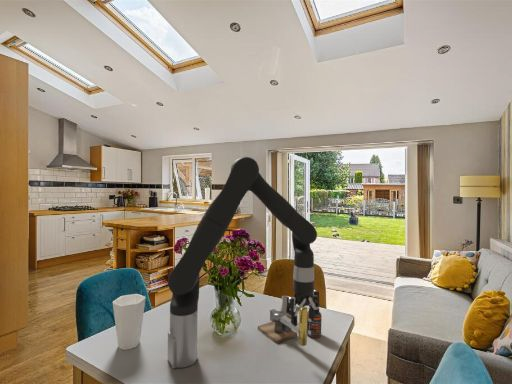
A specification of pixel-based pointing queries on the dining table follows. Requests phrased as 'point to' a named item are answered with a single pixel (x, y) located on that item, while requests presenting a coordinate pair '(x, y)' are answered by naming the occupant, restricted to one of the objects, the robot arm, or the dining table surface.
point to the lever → (300, 327)
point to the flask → (284, 305)
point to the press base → (274, 335)
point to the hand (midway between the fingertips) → (303, 322)
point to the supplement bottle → (314, 324)
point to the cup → (128, 320)
